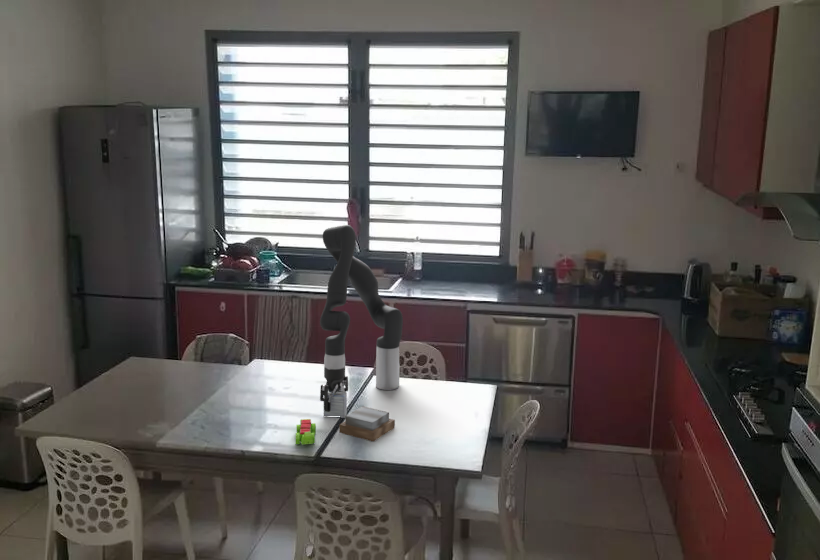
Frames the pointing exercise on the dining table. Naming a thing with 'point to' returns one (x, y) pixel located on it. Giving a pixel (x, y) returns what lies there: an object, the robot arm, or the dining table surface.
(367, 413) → the brown gray stepped block
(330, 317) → the robot arm
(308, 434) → the toy crocodile
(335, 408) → the medicine box
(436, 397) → the dining table surface
